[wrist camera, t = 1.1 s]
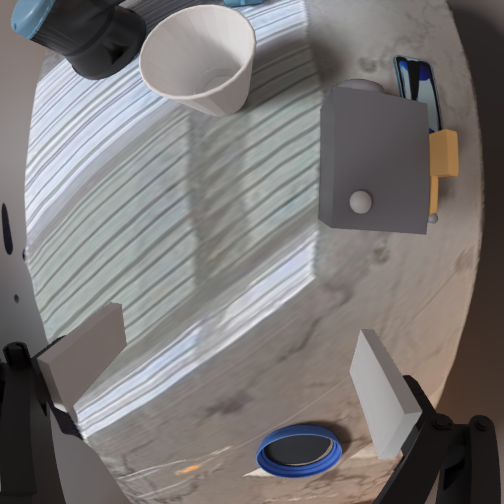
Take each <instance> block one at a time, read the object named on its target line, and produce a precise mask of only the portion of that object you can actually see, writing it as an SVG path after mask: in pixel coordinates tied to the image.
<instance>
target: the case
mask: <svg viewBox="0 0 504 504" xmlns="http://www.w3.org/2000/svg"><path fill="white" fill-rule="evenodd" d="M320 121H321V145H320V191H319V214H318V219H319V220H320V221H322V222H323V223H325V224H326V225H328V226H329V227H331V228H339V229H356V230H372V231H386V232H400V233H413V234H426V232H427V222H428V209H429V190H430V142H429V123H428V110H427V104H426V103H422V102H419V101H415V100H411V99H406V98H402V97H398V96H393V95H388V94H384V88H383V87H382V86H381V85H380V84H378V83H376V82H373V81H369V80H364V79H351V80H345V81H342V82H340V83H338V84H337V85H336V86H333V87H332V89H331V91H330V93H329V95H328V96H327V98H326V100H325V102H324V104H323V106H322V108H321V109H320Z"/></svg>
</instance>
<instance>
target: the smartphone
mask: <svg viewBox="0 0 504 504" xmlns="http://www.w3.org/2000/svg"><path fill="white" fill-rule="evenodd" d="M393 61H394V66H395V70H396V75H397V80H398V85H399V90H400V96H401V97H402V98H406V99H411V100H415V101H419V102H422V103H426V104H427V110H428V123H429V134H432V133H435V132H438V131H441V130H443V127H442V120H441V113H440V106H439V100H438V95H437V90H436V85H435V80H434V75H433V71H432V67H431V65H430V64H429V63H428V62H427V61H424V60H420V59H415V58H411V57H406V56H401V55H397V56H395V57H394V59H393Z"/></svg>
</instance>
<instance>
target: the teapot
mask: <svg viewBox="0 0 504 504" xmlns="http://www.w3.org/2000/svg"><path fill="white" fill-rule="evenodd" d="M224 3H225V7H233V6H240V5H247V4H257V3H263V0H224Z"/></svg>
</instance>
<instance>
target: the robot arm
mask: <svg viewBox="0 0 504 504" xmlns="http://www.w3.org/2000/svg"><path fill="white" fill-rule="evenodd" d="M124 1H125V0H18V2H17V4H16V6H15V8H14V11H13V14H12V18H11V26H12V29H13V30H14V31H15V32H16V33H18V34H20V35H21V36H23V37H24V38H25V39H27V40H32V41H34V42H36V43H38V44H40V45H42V46H45V47H47V48H49V49H51V50H53V51H55V52H57V53H59V54H61V55H63V56H65V57H66V59H67V60H68V61H69V63H71V64H72V67H73V69H74V70H75V72H76V73H77V74H79V75H80V76H82V77H84V78H86V79H89V80H100V79H104V78H106V77H109V76H111V75H113V74H115V73H116V72H118V71H119V70H121V69H122V68H123V67H124V66H125V65H127V64H128V63H129V62H130V61H131V60H132V58H133V57H134V56H135V55H136V53H137V52H138V51H139V49H140V47H141V45H142V43H143V41H144V38H145V34H146V26H145V23H144V21H143V19H142V18H141V17H140V16H139V15H138V14H137V13H136V12H135V11H133V10H130V9H127V8H124V7H121V6H119V5H118V4H120V3H122V2H124ZM126 346H127V343H126V336H125V329H124V321H123V312H122V304H118V303H112V302H110V303H109V304H108V305H106V306H105V307H103V308H102V309H101V310H99V311H98V312H97V313H95V314H94V315H93V316H91V317H90V318H89V319H87V320H86V321H85V322H83V323H82V324H81V325H79V326H78V327H77V328H75V329H74V330H73V331H71V332H70V333H69V334H67V335H64V336H62V337H59V338H57V339H56V340H54V341H53V342H52V343H51V344H49V345H48V346H47V347H46V348H44V349H43V350H41V351H40V352H39V353H38V354H36V355H35V356H34V357H32V358H30V355H29V352H28V349H27V345H25V343H22V342H13V343H10V344H8V345H6V346H5V347H4V349H3V352H4V355H5V358H6V361H7V363H3V362H2V361H1V359H0V479H1V480H0V481H1V492H0V504H66V502H65V499H64V495H63V491H62V487H61V483H60V479H59V474H58V469H57V464H56V459H55V453H54V446H53V439H52V430H51V421H50V409H49V405H48V402H47V401H48V400H49V399H50V398H52V401H53V403H54V405H55V407H56V408H58V409H60V410H62V411H64V412H68V411H69V410H70V409H71V407H72V406H73V405H74V404H75V403H76V402H77V401H78V399H79V398H80V397H81V396H82V395H83V394H84V393H85V392H86V390H87V389H88V388H89V387H90V386H91V385H92V384H93V382H94V381H95V380H96V379H97V378H98V377H99V376H100V375H101V374H102V372H103V371H104V370H105V369H106V368H107V367H108V366H109V365H110V363H111V362H112V361H113V360H114V359H115V358H116V357H117V356H118V355H119V354H120V352H121V351H122V350H123V349H124V348H125V347H126ZM350 374H351V377H352V380H353V382H354V385H355V388H356V391H357V394H358V397H359V400H360V403H361V406H362V409H363V412H364V415H365V418H366V421H367V424H368V427H369V430H370V433H371V437H372V440H373V443H374V446H375V450H376V453H377V456H378V460H383V459H389V458H395V457H396V455H397V454H398V452H399V451H400V449H401V450H402V453H403V455H404V456H403V457H402V458H401V460H400V461H399V463H398V464H397V466H396V467H395V468H394V472H393V473H392V475H391V477H390V478H389V480H388V481H387V483H386V484H385V486H384V487H383V489H382V490H381V492H380V493H379V495H378V496H377V498H376V499H375V501H374V502H373V503H372V504H424V503H425V502H426V500H427V497H428V495H429V493H430V491H431V489H432V487H433V484H434V482H435V480H436V478H437V475H438V473H439V470H440V476H439V483H438V490H437V497H436V503H435V504H501V483H500V467H499V456H498V447H497V440H496V433H495V427H494V424H493V422H492V421H491V420H490V419H489V418H488V417H486V416H482V415H476V416H474V417H472V418H471V420H470V421H469V423H468V424H454V423H453V421H452V420H451V419H450V418H449V417H448V416H446V415H444V414H439V413H436V411H435V409H434V408H433V406H432V404H431V403H430V401H429V400H428V398H427V396H426V395H425V393H424V391H423V390H422V389H421V387H420V385H419V383H418V382H417V381H416V380H415V379H414V378H412V377H411V376H410V375H403V376H402V375H401V373H400V371H399V370H398V368H397V366H396V365H395V363H394V361H393V360H392V358H391V356H390V355H389V353H388V352H387V350H386V348H385V347H384V345H383V343H382V342H381V340H380V339H379V337H378V336H377V334H376V332H375V331H374V329H361V330H360V334H359V338H358V342H357V346H356V350H355V353H354V357H353V361H352V364H351V368H350Z"/></svg>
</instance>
